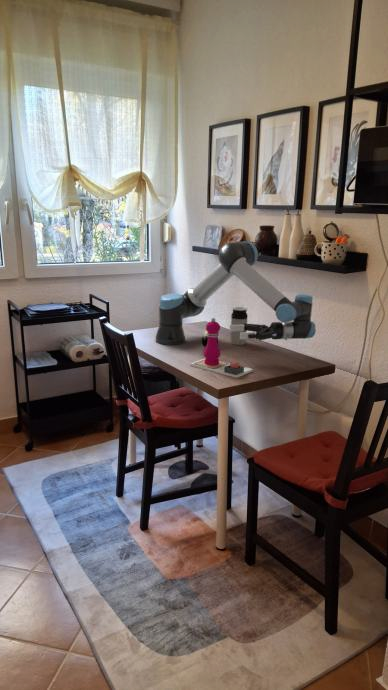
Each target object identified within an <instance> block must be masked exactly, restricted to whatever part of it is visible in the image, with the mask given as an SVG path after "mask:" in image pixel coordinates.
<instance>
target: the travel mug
mask: <svg viewBox="0 0 388 690" xmlns="http://www.w3.org/2000/svg"><path fill="white" fill-rule="evenodd" d="M247 311H248V308H247V307H244V306H243V307H242V306H234V307H232V312H231V319H230V325H243V324H244V323H246V324H248V313H247ZM244 332H247V331H246V330H245V331H244ZM240 333H243V331H230V337H229V338H230V339H229V342H230V344H232V345H236V346H243V345H246V344H247V339H240Z"/></svg>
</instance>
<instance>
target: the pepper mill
mask: <svg viewBox="0 0 388 690" xmlns="http://www.w3.org/2000/svg"><path fill="white" fill-rule="evenodd" d="M205 330H206V332H207V333H206V337H207V344H206V346H205V348H204V351H203V357H204V358H205V364H206V365H218V364H219V361H220V359H219V358H220V357H221V350H220V347H219V344H218V338H219V336H220V335H219V334H220V333H219V332H220V330H221V325H220V323H219V322H217V321H216V318H215V317H211V319H210V321H209V322H207V323H206V325H205Z"/></svg>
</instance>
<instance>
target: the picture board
mask: <svg viewBox="0 0 388 690" xmlns="http://www.w3.org/2000/svg"><path fill="white" fill-rule="evenodd" d="M205 358H206V357H204V358H202V359H198V360H196V361H193V362H190V363H189V364H190V365H189V366H190V367H195V368H197V369H202V370H204V371H209V372H213V373H217V374H221V375H223V376H226V377H227V376H228V377H232V378H235V379H237V378H240V377H242V376H245V375H246V374H249V373H252V372H253V371H254V370H253V368H250V367H246V366H243V365H239V368H237V369H233V368H230V362H227V361H222V360H219V364H218V365H206V364H205Z"/></svg>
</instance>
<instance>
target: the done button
mask: <svg viewBox="0 0 388 690" xmlns="http://www.w3.org/2000/svg"><path fill="white" fill-rule="evenodd" d="M229 363H230V368H233V369H237V368H239V366H240V363H239V362H238V361H230V362H229Z"/></svg>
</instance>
